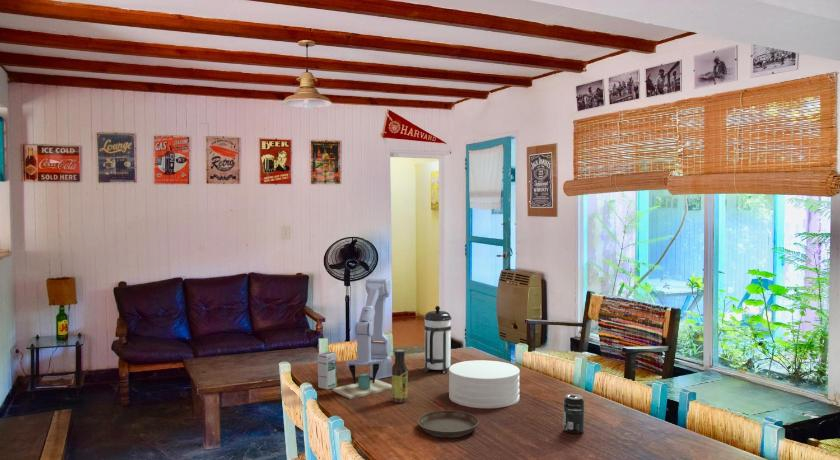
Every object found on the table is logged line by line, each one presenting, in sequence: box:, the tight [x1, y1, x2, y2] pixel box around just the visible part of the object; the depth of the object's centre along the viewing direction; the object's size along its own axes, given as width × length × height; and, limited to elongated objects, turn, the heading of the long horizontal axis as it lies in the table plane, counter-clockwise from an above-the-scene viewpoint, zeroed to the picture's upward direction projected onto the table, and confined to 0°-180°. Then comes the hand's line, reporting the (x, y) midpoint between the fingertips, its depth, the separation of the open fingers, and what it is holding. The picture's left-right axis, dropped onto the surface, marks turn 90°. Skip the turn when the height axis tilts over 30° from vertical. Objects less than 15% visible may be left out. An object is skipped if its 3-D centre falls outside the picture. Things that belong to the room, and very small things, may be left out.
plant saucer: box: [417, 410, 479, 439], centre depth 213 cm, size 21×21×3 cm
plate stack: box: [448, 359, 521, 409], centre depth 249 cm, size 28×28×12 cm
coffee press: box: [422, 305, 452, 374], centre depth 288 cm, size 17×16×30 cm
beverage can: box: [563, 393, 585, 434], centre depth 211 cm, size 7×7×12 cm
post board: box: [332, 379, 392, 400], centre depth 258 cm, size 22×14×5 cm, turn 128°
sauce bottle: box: [391, 349, 409, 403], centre depth 244 cm, size 7×6×20 cm
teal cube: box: [357, 373, 371, 389], centre depth 258 cm, size 5×5×5 cm
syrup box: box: [317, 350, 338, 390], centre depth 262 cm, size 6×6×14 cm
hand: (364, 382), depth 258 cm, fingers open, 7 cm apart
